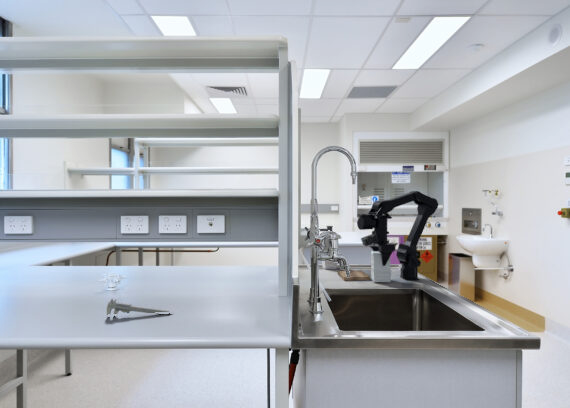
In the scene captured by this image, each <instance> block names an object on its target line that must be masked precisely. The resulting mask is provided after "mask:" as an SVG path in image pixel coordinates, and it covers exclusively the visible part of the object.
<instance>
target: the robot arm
mask: <svg viewBox="0 0 570 408" xmlns="http://www.w3.org/2000/svg"><path fill="white" fill-rule="evenodd" d="M412 202H413V203H414V204H416V205H417V207H416V209H417V215H416V218H415V220H414V222H413V225H412V227H411V229H410V231H409V234H408V237H407V239H406V241H405V242H404V243H401V242H400V243H399V244H398V248H397V249H396V245H395V244H393V243H391V242H390V241H389V240H388V235H389V234H390V231H388V219H390V220H391V219H393V217H392V216H391V215H390V214H389V213H390V212H392V211H393V210H394V209H395V208H397V207H401V206H403V205H406V204H408V203H412ZM438 208H439V202H438V200H437V199H436V198H434V197H431V196H429V195H426V194H424V193H422V192H421V191H418V190H412V191H410V192H407V193H403V194H402V195H398V196H395V197H393V198H392V197H391V198H389V199H380V200H374V201H373V202H372V206H371V208H370V209H369V211H368V212H367V214H363V213H362V214H361V213H360V214H359V217H358V218H357V221H356V223H357V228H358V230H361V231H363V230H365V231H367V230H372V231H371V234H368V235H366V236H363V237H360V240H361V243H362V245H363V246H365V247H369V248H370V249H371V251H379V252H380V253H381V258H382V265H383V266H385V265H386V263H387V261H388V259H389V257H390V258H391V255H392V254H393V253H394V252H396V258H397V260H398V262H399V264H400V265H401V267H400V275H399V277H400V278H402V279H403V280H405V281H413V280H414V281H415V280H416V281H417V280H418V281H419V280H420V278H419V277H418V274H419V273H418V272H419V271H418V270H419V269H418V268H419V267H420V266H421V263H422V261H420V259H419V258H418V257H417V255H418V247H417V246H418V244H419V241H420V239H421V236H422V234H423V232H424V230H425V227H426V224H427V222H428V220H429V218H431V216H432V215H434V214H435V213H436V211H437V209H438Z"/></svg>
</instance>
